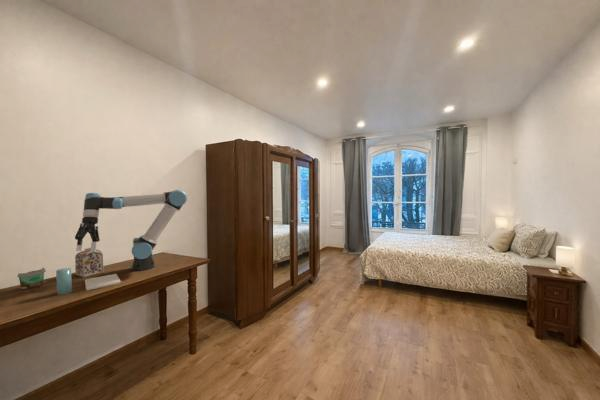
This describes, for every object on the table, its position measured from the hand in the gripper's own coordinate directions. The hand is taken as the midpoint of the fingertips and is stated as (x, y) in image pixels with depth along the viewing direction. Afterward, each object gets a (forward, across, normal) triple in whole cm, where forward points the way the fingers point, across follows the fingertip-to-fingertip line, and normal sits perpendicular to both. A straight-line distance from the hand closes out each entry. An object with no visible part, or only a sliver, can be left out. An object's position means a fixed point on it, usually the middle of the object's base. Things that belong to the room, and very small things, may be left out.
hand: (86, 251), depth 147 cm
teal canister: (+22, +4, -6) cm, 24 cm away
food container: (+18, -10, -29) cm, 36 cm away
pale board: (+19, -8, +6) cm, 22 cm away
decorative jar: (+13, -29, -12) cm, 34 cm away
